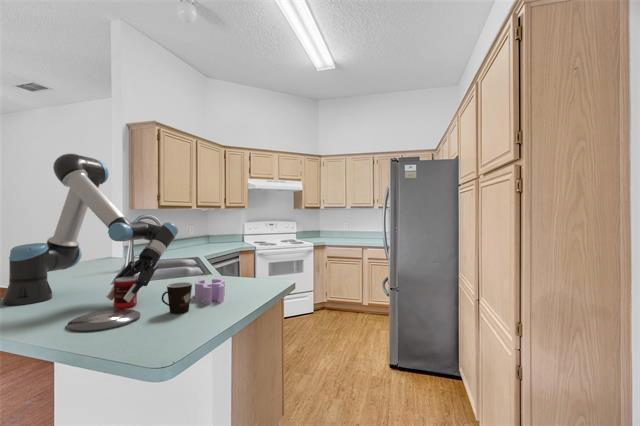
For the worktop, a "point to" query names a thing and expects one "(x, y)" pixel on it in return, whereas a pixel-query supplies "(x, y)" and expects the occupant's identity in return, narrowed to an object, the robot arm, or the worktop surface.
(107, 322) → the plate
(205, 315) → the worktop surface
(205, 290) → the clip
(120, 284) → the canned food
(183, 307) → the coffee mug
